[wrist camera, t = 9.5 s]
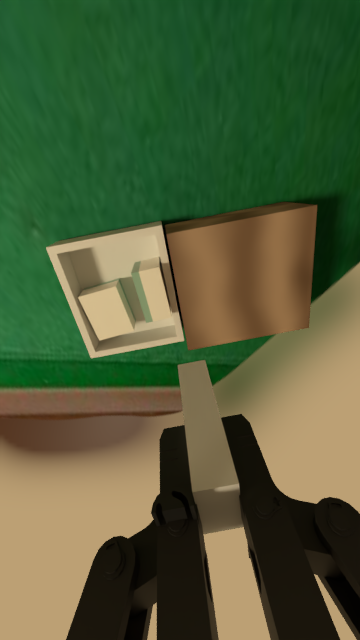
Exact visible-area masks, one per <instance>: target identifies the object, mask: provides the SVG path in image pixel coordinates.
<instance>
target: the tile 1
mask: <svg viewBox="0 0 360 640" xmlns="http://www.w3.org/2000/svg"><path fill="white" fill-rule="evenodd" d="M78 299H79V301H80V303H81V305H82V307H83V309H84V311H85V313H86V315H87V317H88V319H89V321H90V323H91V325H92V327H93V329H94V331H95V333H96V335H97V337H98V339H99V341H100V340H104V339H107V338H111V337H114V336H118V335H121V334H125V333H129V332H132V331H134V329H135V323H136V319H135V316H134V314H133V311H132V309H131V306H130V304H129V301H128V299H127V296H126V294H125V291H124V289H123V286H122V284H121V281H120V279H119V278H118V279H115V280H111V281H108V282H104V283H101V284H98V285H94V286H91V287H87V288H84V290H83V291H82V292H81V294H80V295H79V296H78Z"/></svg>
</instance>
